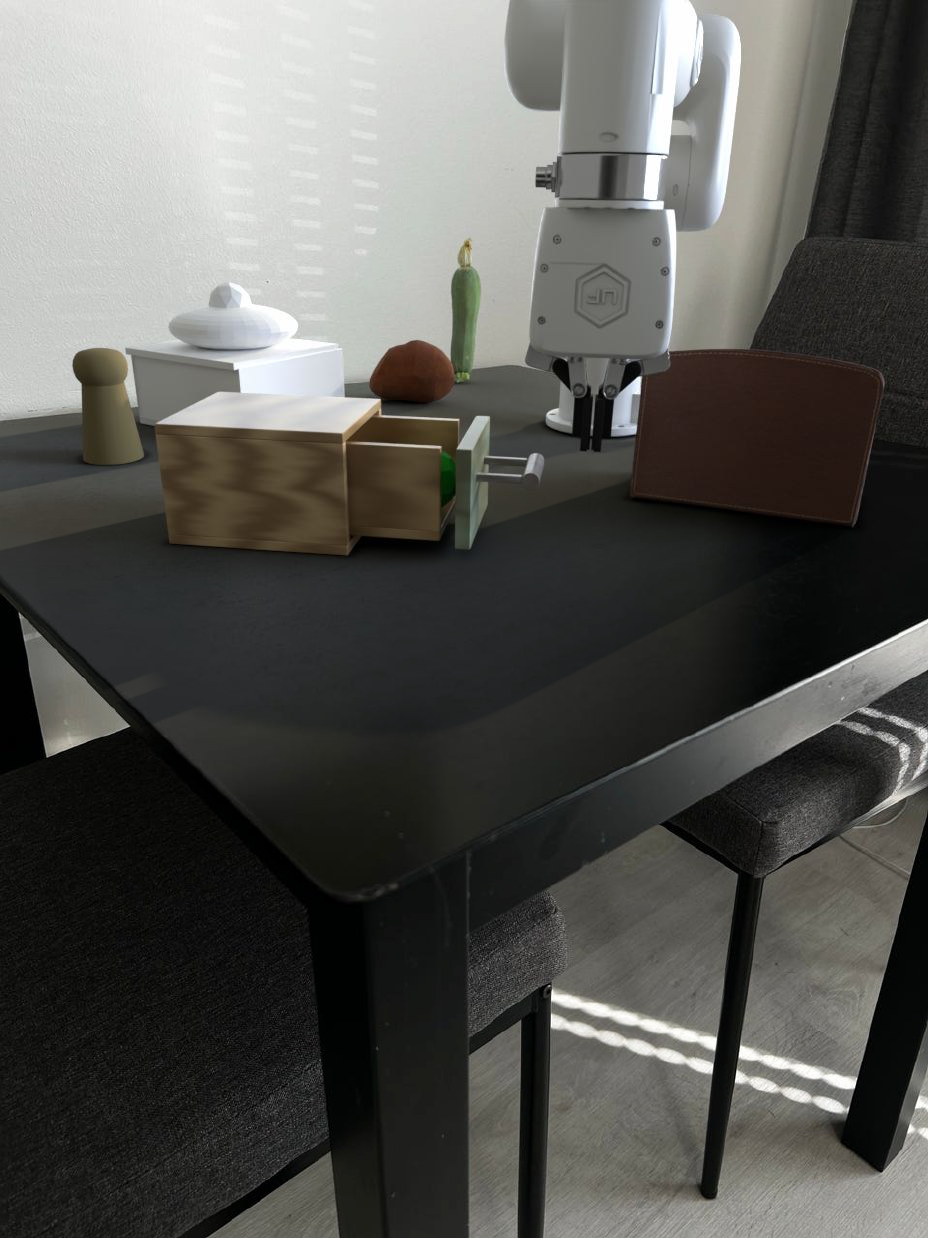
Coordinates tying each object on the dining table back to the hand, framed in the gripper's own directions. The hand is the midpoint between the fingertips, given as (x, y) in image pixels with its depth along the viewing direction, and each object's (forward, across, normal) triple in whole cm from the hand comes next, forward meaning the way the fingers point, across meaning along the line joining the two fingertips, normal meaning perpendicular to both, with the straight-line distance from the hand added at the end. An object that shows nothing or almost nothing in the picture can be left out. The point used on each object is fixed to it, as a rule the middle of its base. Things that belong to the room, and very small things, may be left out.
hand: (590, 446), depth 71 cm
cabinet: (+8, -25, 0) cm, 27 cm away
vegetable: (+8, -19, +67) cm, 70 cm away
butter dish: (+8, -42, +36) cm, 57 cm away
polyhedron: (+5, -14, 0) cm, 15 cm away
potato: (+8, -24, +52) cm, 58 cm away
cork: (+8, -49, +17) cm, 53 cm away
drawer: (+7, -13, 0) cm, 15 cm away
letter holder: (+8, +15, +15) cm, 23 cm away
